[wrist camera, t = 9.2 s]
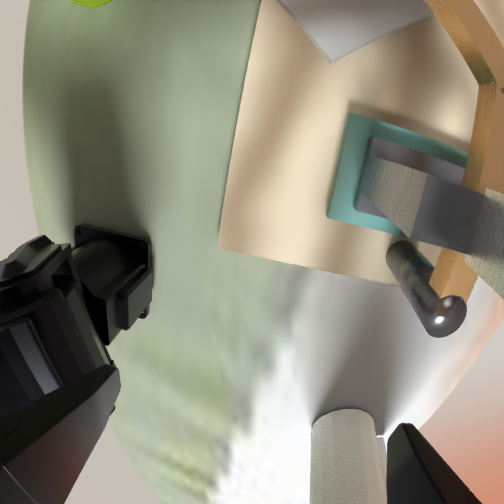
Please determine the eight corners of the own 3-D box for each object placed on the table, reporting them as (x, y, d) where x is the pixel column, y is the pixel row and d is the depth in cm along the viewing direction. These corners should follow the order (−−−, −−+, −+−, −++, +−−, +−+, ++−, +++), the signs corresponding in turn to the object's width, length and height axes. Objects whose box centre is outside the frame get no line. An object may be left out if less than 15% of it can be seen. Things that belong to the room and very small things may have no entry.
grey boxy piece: (369, 136, 15) (520, 153, 4) (489, 180, 15) (645, 253, 3) (352, 206, 17) (449, 347, 5) (472, 240, 16) (602, 357, 5)
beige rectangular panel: (220, 242, 21) (212, 253, 19) (283, -80, 12) (281, -95, 10) (450, 291, 20) (461, 305, 18) (503, -3, 11) (516, -10, 9)
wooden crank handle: (386, 275, 19) (422, 342, 12) (301, -63, 12) (300, -130, 5) (467, 258, 18) (523, 311, 11) (389, -65, 11) (418, -122, 4)
